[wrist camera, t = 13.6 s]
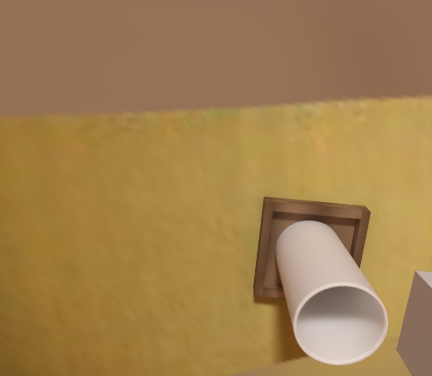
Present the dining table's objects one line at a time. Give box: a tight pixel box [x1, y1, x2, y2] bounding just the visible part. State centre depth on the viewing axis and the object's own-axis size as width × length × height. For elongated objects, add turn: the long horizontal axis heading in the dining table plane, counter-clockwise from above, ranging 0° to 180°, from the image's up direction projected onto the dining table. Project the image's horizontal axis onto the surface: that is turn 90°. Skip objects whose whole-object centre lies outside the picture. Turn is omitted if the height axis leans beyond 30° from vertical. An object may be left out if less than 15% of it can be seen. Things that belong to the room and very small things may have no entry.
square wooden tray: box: [253, 197, 371, 299], centre depth 50 cm, size 12×12×2 cm
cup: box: [275, 220, 388, 365], centre depth 42 cm, size 8×8×16 cm
